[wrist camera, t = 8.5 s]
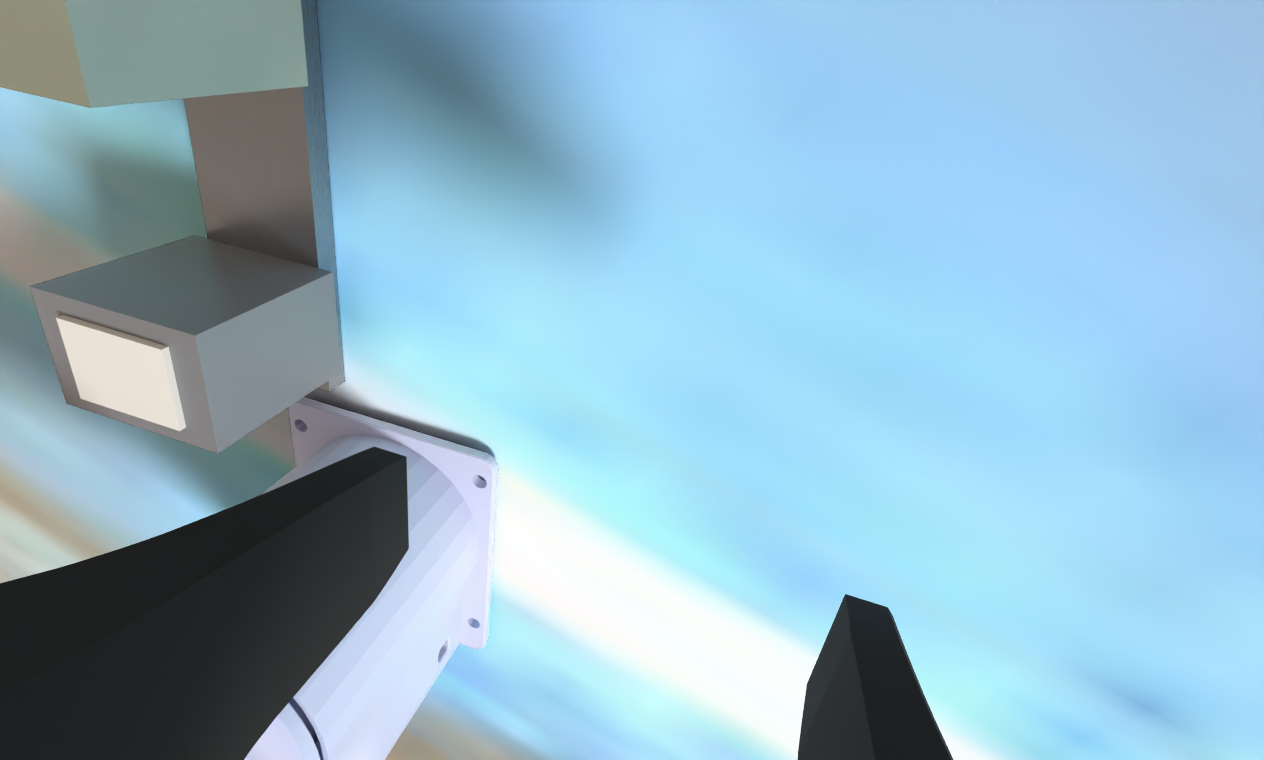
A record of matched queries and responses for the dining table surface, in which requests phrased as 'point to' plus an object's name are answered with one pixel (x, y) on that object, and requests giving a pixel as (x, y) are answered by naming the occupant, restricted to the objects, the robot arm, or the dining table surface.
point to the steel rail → (270, 169)
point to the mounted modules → (191, 338)
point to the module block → (149, 48)
